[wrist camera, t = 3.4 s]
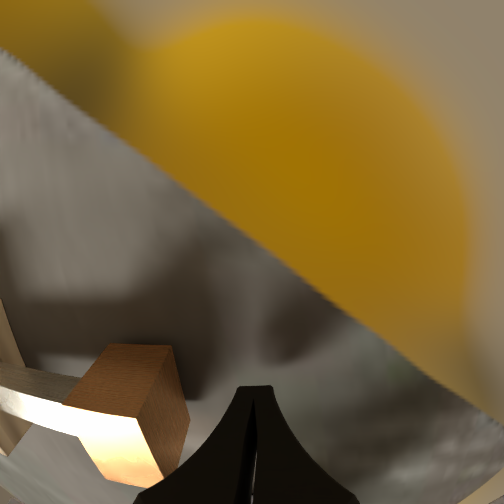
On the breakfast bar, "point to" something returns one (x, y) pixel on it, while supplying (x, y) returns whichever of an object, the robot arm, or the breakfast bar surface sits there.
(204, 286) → the breakfast bar surface
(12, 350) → the block
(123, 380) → the shaft
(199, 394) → the breakfast bar surface
